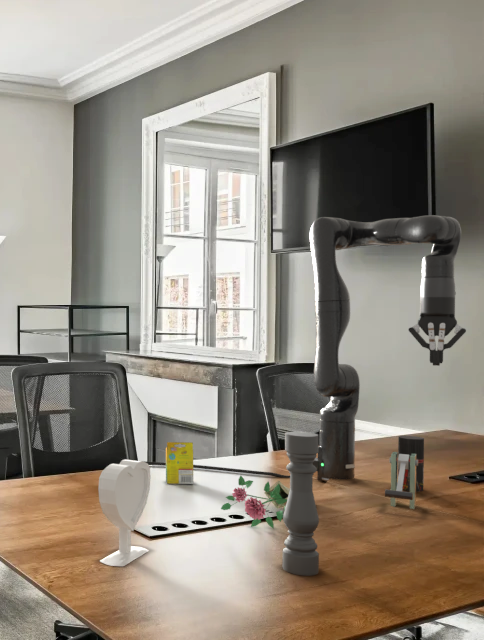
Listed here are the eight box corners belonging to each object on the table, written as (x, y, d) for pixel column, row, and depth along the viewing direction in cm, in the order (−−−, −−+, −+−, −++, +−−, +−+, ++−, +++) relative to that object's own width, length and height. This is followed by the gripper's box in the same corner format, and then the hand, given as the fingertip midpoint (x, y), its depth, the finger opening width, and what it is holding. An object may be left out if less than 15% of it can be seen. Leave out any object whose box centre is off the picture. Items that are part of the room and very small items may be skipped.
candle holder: (276, 564, 139) (277, 431, 138) (308, 563, 139) (309, 431, 139) (292, 575, 132) (293, 436, 132) (325, 575, 133) (326, 436, 133)
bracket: (423, 518, 171) (423, 459, 171) (379, 512, 176) (380, 455, 176) (426, 509, 180) (426, 452, 179) (384, 504, 184) (385, 449, 184)
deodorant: (426, 497, 192) (427, 439, 192) (401, 496, 193) (402, 438, 193) (418, 492, 198) (419, 436, 198) (394, 490, 199) (395, 435, 199)
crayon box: (192, 482, 207) (192, 440, 207) (193, 484, 204) (194, 442, 204) (165, 481, 208) (165, 440, 208) (166, 483, 205) (166, 442, 205)
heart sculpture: (118, 569, 135) (119, 471, 135) (94, 563, 138) (94, 467, 138) (153, 548, 148) (154, 458, 148) (130, 543, 151) (131, 455, 151)
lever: (412, 502, 166) (412, 494, 165) (385, 499, 169) (384, 490, 168) (417, 463, 178) (417, 455, 177) (391, 460, 181) (391, 452, 180)
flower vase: (314, 542, 177) (263, 543, 150) (267, 518, 185) (210, 514, 158) (333, 497, 176) (286, 490, 150) (285, 474, 184) (232, 464, 158)
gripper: (406, 295, 185) (404, 364, 185) (468, 295, 177) (467, 367, 178) (408, 296, 191) (407, 363, 191) (469, 296, 184) (467, 365, 184)
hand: (436, 365), depth 184 cm, fingers closed
